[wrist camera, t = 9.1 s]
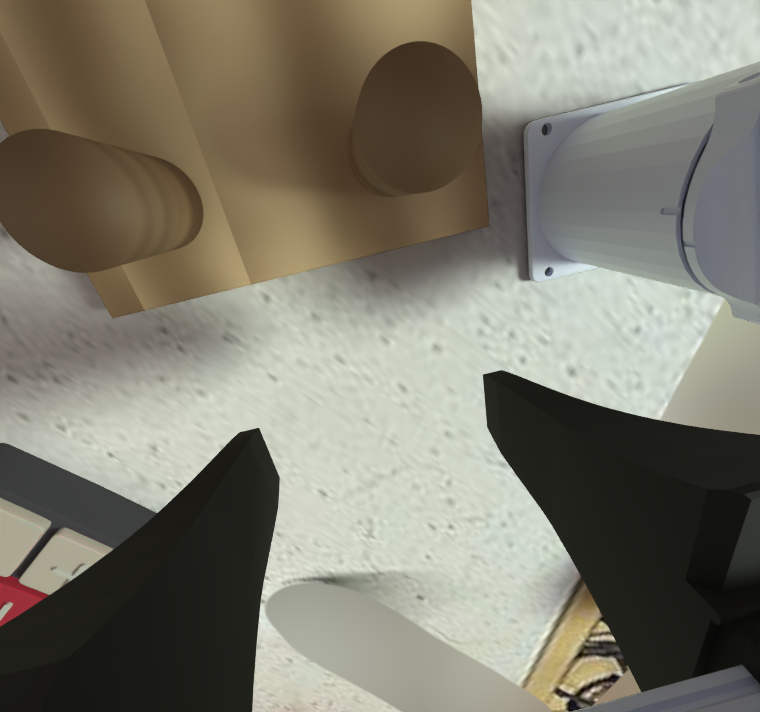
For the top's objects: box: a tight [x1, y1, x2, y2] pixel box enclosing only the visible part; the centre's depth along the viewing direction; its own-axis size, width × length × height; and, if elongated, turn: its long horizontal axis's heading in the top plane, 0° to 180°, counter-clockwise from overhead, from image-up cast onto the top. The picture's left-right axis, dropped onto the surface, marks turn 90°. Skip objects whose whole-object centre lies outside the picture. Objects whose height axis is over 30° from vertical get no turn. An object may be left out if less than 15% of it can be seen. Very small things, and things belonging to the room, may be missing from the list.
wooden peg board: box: [0, 0, 490, 318], centre depth 11 cm, size 18×18×8 cm
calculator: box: [0, 443, 156, 626], centre depth 23 cm, size 11×4×15 cm
